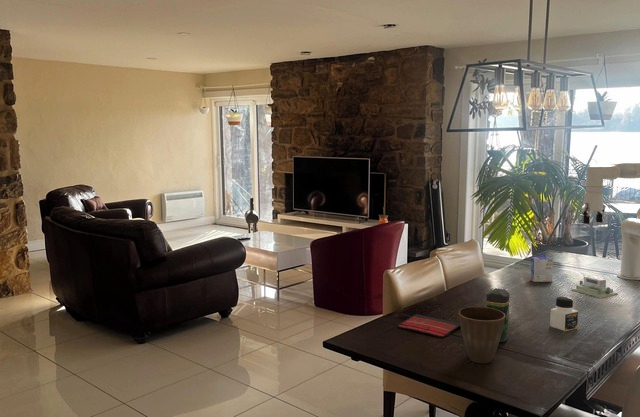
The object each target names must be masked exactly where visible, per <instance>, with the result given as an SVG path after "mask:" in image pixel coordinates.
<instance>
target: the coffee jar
mask: <svg viewBox="0 0 640 417" xmlns="http://www.w3.org/2000/svg"><path fill="white" fill-rule="evenodd" d="M510 295H511V294H510V293H509V291H507V289H505V288H504V289H503V288H493V289H491V290H489V291H488V292H487V293H486V297H485V307H487V308H493V309H497V310H499V311H501V312H503V313H504V314H505V320H504V326H503V330H502V334H501V338H500V341H499V343H505V342H506V341H507V340H508V337H509V320H510V319H509V318H510V317H509V316H510Z"/></svg>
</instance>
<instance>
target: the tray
mask: <svg viewBox="0 0 640 417" xmlns="http://www.w3.org/2000/svg"><path fill="white" fill-rule="evenodd" d="M583 284H584V280H579V284H576V286H575V287H571V289H570V290H571V291H573V292H577V293H580V294H584V295H588V296H591V295H592V297H596V298H600V299H603V298H608V297H612V296H617V295H619V294H618V292H617V291H614V289H613V288H611V287H607V286H606V290H602V291H599V290H595V289H591V288H587V287H583Z"/></svg>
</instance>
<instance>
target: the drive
mask: <svg viewBox="0 0 640 417" xmlns="http://www.w3.org/2000/svg"><path fill="white" fill-rule="evenodd" d="M583 287H587V288H591V289H595V290H599V291H602V290H606V288H607V279H605V278H602V277H601V278H600V277H598V276H592V275H585V276H583Z"/></svg>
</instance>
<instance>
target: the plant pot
mask: <svg viewBox="0 0 640 417" xmlns="http://www.w3.org/2000/svg"><path fill="white" fill-rule="evenodd" d="M458 317H459V324H460V326H461V328H460V331H461V335H462V340H463V344H464V347H465V351H466V353H467V356H468V358H469V360H470V361H472V362H473V363H476V364H489V363H491V362H492V360H494V359H493V358H494V357H495V355H496V352H497V349H498V346H499V344H500V342H499V341H500V338H501V334H502V330H503V326H504V320H505V314H504V313H503V312H501V311H499V310H497V309H493V308H487V307H486V306H468V307H463V308H461V309H460V310H458Z"/></svg>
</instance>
